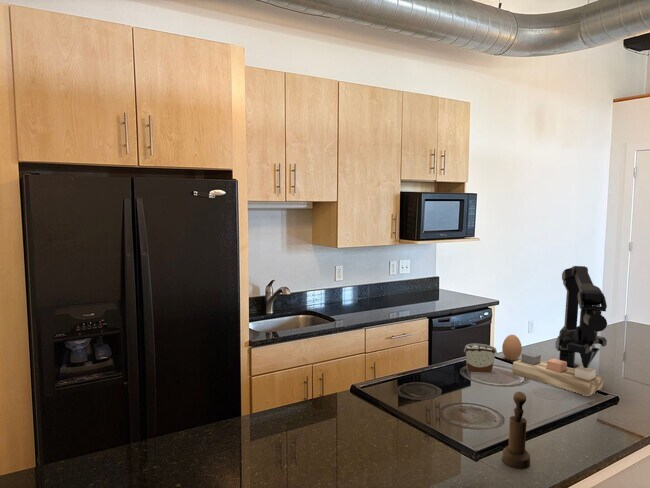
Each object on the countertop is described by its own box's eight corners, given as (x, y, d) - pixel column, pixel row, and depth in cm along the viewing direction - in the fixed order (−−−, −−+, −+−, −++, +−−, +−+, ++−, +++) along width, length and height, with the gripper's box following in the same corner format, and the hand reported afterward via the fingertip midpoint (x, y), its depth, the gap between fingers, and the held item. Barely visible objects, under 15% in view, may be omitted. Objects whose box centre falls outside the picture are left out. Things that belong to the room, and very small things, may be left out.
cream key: (580, 373, 176) (581, 365, 176) (595, 377, 172) (595, 369, 172) (574, 376, 173) (575, 368, 173) (589, 380, 169) (589, 372, 169)
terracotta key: (553, 366, 184) (553, 358, 184) (566, 369, 180) (567, 361, 180) (546, 368, 181) (547, 360, 180) (560, 372, 177) (560, 364, 177)
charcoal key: (527, 359, 192) (528, 351, 191) (540, 362, 188) (540, 354, 187) (521, 361, 188) (521, 353, 188) (533, 365, 185) (534, 357, 184)
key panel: (528, 367, 195) (528, 356, 195) (602, 389, 174) (603, 376, 173) (512, 373, 188) (513, 362, 187) (588, 397, 166) (589, 384, 166)
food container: (492, 368, 193) (493, 344, 192) (495, 374, 187) (497, 348, 186) (460, 366, 194) (461, 342, 193) (463, 372, 188) (464, 346, 187)
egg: (522, 359, 205) (524, 334, 204) (518, 364, 199) (520, 338, 198) (503, 356, 209) (505, 331, 208) (499, 360, 203) (501, 335, 202)
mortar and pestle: (497, 455, 126) (501, 387, 124) (521, 454, 126) (526, 387, 125) (509, 469, 119) (513, 397, 118) (534, 468, 120) (539, 397, 118)
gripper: (576, 316, 183) (573, 356, 185) (553, 323, 171) (550, 366, 173) (608, 322, 175) (605, 365, 176) (586, 330, 163) (583, 375, 164)
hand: (585, 367), depth 172 cm, fingers closed
